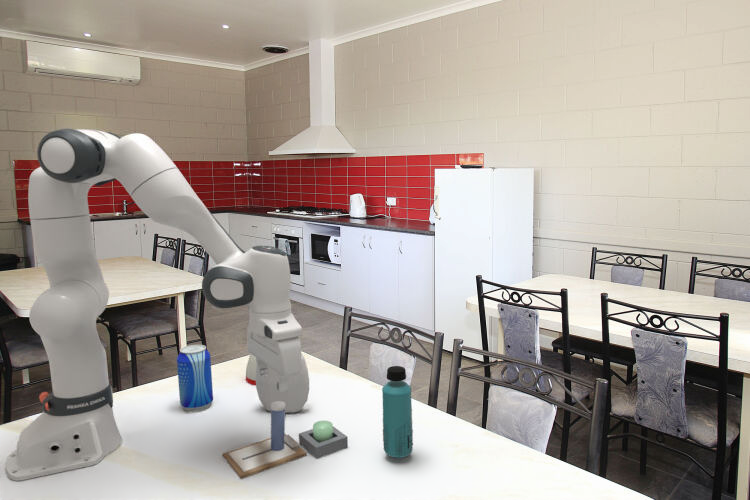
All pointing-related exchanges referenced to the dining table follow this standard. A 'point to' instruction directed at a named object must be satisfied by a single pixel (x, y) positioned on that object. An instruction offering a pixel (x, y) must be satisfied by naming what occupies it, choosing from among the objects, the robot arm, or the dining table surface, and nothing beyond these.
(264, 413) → the dining table surface
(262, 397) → the soap bottle
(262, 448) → the clipboard
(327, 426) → the button
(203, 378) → the beer can
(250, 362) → the kitchen timer
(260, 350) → the robot arm
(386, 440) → the beverage bottle
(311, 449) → the button housing
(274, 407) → the marker
